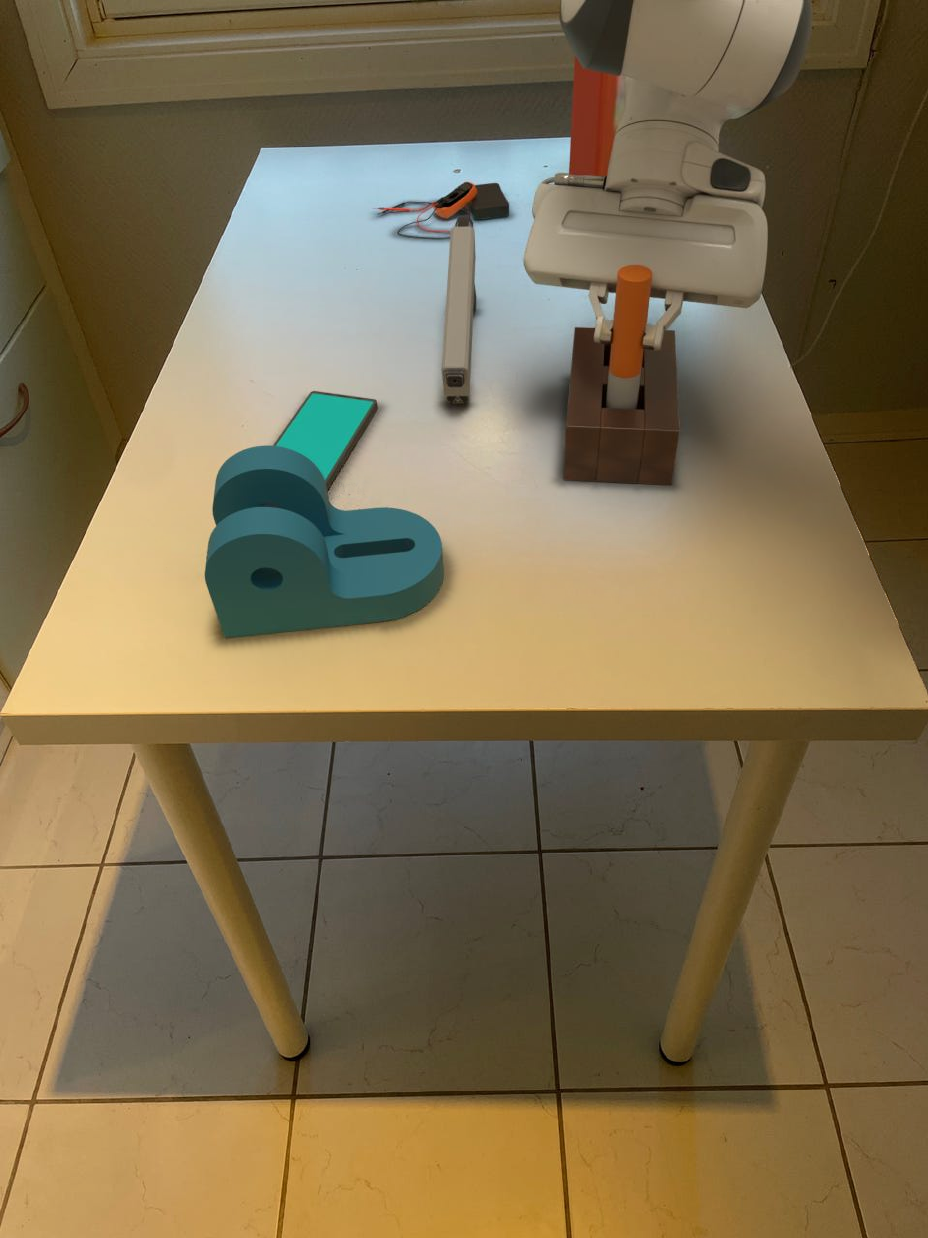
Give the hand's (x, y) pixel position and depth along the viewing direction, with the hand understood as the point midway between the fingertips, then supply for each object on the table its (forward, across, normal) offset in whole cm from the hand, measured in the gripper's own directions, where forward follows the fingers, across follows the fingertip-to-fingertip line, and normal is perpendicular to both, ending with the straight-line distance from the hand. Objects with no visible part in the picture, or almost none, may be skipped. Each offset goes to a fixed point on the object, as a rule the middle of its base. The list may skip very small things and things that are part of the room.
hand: (627, 345), depth 79 cm
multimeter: (-23, -32, +40) cm, 56 cm away
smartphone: (+12, -28, +4) cm, 31 cm away
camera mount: (+24, -19, -8) cm, 32 cm away
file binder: (-26, -10, +43) cm, 51 cm away
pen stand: (+5, 0, +11) cm, 12 cm away
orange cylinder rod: (+5, 0, +6) cm, 8 cm away
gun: (-2, -20, +18) cm, 27 cm away
